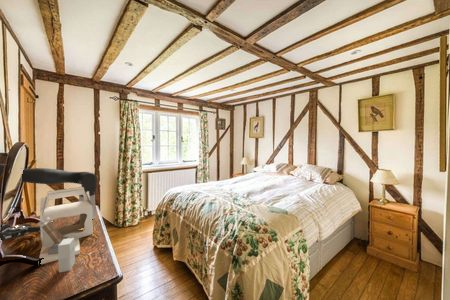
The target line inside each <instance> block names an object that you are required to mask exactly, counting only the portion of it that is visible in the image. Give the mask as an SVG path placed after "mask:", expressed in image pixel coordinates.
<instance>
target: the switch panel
mask: <svg viewBox="0 0 450 300" xmlns="http://www.w3.org/2000/svg"><path fill="white" fill-rule="evenodd" d="M64 239H68V236H65V237H64ZM74 242H75V256H77V255H80V254H81V246H80V238H78V239H74ZM59 244H60V243H59ZM59 244H55V243H54V244H52V245H48V246H44V247H43V246H42V247H41V248H40V249H41V250H40V254H39V257H38V259H39V258H42V257H44V259H42V260H41V263H40V264H41V265H44V264H49V263H51V262H54V261H58V245H59Z"/></svg>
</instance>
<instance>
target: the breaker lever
mask: <svg viewBox="0 0 450 300" xmlns="http://www.w3.org/2000/svg"><path fill="white" fill-rule="evenodd" d="M37 225H38V226H40V228H41V227H42V228H43V229H44V231H45V232H46V233H47V234H48V235H49V237H50V238H51V239H52V240H53V242H54V243H55V244H59V243H61V242H62V240H63V239H64V237H63V236H62V234H61V233H60V232H59V231H58V229H59V228H57V226H55V224H54V222H52V221H51V219H50V218H49V216H48V217H47V218H45V219H43V220H42V221H40V220H39V222H37Z"/></svg>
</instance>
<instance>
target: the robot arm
mask: <svg viewBox="0 0 450 300" xmlns="http://www.w3.org/2000/svg"><path fill="white" fill-rule="evenodd" d="M4 165H5V163H0V176H1V175H2V173H3V168H4ZM23 169H24V170H23V174H22V182H21V183H28V184H29V183H30V184H39V185H59V184H78V185H80V187H83V188H84V191H85V192H87V191H89V196H90V202H91V204H92V219H93V220H95V219H96V191H97V180H98V179H97V175H96V174H95V173H93V172H89V171H67V170H63V169H56V168H42V167H41V168H36V167H35V168H23ZM78 201H84V197H83V195H78ZM78 217H80V214H78ZM94 218H95V219H94ZM78 220H80V219H78ZM1 224H2V227H1V233H0V238H1V240H2V241H1V242H3V241H8V240H12V239H17V238H19V237H23V236H25V235H28V234H31V233H32V234H33V233H37V232H39V231H40V226H39V225H38V226H32V225H31V224H29V223H24V222H23V223H21V225H13V226H10V225H9V224H8V223H1Z"/></svg>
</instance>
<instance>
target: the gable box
mask: <svg viewBox="0 0 450 300" xmlns="http://www.w3.org/2000/svg"><path fill="white" fill-rule="evenodd" d="M79 195H83V197H84V201H79V200H78V201H74V202H68V203H62V204H56V205H50V206H49V201H50V200H57V199H62V198H67V197H75V196H79ZM79 214H80V217H79ZM48 216H49V218H50V219H51V222H52V221H54V220H57V219H60V218H69V217H74V216H78V217H79V219H80V221H79V222H78V223H77V224H75V225H73V224H72V225H64V226H62V227H59V228H57V229H58V231H59V232H60V233H61V234H62V236H63V237H65V236H68V238H74V239H78V238H79V239H81V238H84V237H87V236H91V234H92V235H94V234H93V232H94V230H93V228H94V227H93V220H92V204H91V202H90V196H89V191H87V192H85V191H84V188H83V187H81V186H78V187H70V188H64V189H57V190H49V191H47V193H46V196H45V197H41V199H40V206H39V222H40V221H42V220H43V219H45V218H47V217H48ZM79 219H78V220H79ZM84 227H85V229H84V231H83V230H78V229H81V228H84ZM39 231H40V241H41V245H42V247H44V246H48V245H52V244H54V242H53V240H52V239H51V238H50V237H49V235H48V234H47V233H46V232H45V231H44V229H43V228H42V227H41V228H40V230H39Z"/></svg>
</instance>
